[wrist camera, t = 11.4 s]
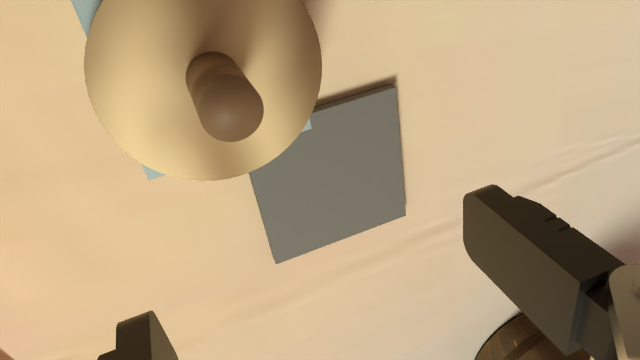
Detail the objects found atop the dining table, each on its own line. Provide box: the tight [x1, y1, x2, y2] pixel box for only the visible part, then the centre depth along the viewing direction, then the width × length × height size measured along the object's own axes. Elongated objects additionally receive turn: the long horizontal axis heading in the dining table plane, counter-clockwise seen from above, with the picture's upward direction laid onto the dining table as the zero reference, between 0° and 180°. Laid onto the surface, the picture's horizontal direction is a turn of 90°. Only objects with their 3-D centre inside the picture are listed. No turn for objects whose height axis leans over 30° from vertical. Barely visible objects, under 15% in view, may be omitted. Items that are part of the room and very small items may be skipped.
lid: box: [84, 0, 322, 181], centre depth 23 cm, size 12×12×6 cm
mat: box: [249, 84, 406, 264], centre depth 37 cm, size 12×12×1 cm
